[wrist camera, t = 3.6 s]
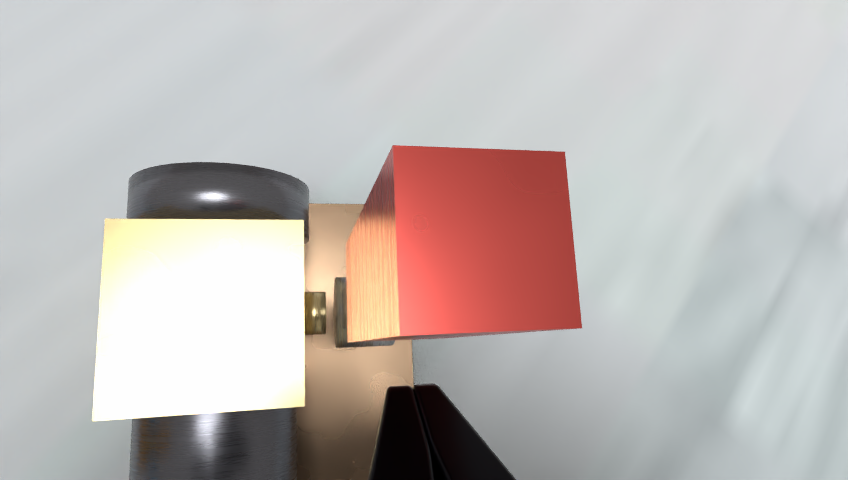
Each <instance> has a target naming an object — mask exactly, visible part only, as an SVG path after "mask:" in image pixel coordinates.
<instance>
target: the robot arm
mask: <svg viewBox="0 0 848 480" xmlns="http://www.w3.org/2000/svg"><path fill="white" fill-rule="evenodd" d="M368 480H516V479H515V478H514V477H513V475H512V474H511V473H510V472H509V471H508V469H507V468H506V467H505V466H504V465H503V463H502V462H501V461H500V460H499V458H498V457H497V456H496V455H495V454H494V452H493V451H492V450H491V449H490V448H489V446H488V445H487V444H486V443H485V442H484V440H483V439H482V438H481V437H480V436H479V434H478V433H477V432H476V431H475V430H474V428H473V427H472V426H471V425H470V424H469V422H468V421H467V420H466V419H465V417H464V416H463V415H462V414H461V413H460V411H459V410H458V409H457V408H456V407H455V405H454V404H453V403H452V402H451V401H450V399H449V398H448V397H447V396H446V395H445V393H444V392H443V391H442V390H441V389H440V387H439V386H437V385H435V384H421V385H414V386H413V387H412V388H411V387H410V386H408V385H405V386H391V387H388V389H387V391H386V395H385V400H384V405H383V410H382V414H381V419H380V424H379V428H378V433H377V438H376V443H375V447H374V452H373V457H372V462H371V466H370V471H369V476H368Z"/></svg>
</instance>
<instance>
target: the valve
mask: <svg viewBox="0 0 848 480" xmlns="http://www.w3.org/2000/svg"><path fill="white" fill-rule="evenodd" d="M364 205H365V204H309V189H308V187H307V185H306V184H305V183H303V182H302V181H300V180H299V179H297V178H295V177H293V176H290V175H287V174H285V173H281V172H278V171H274V170H270V169H265V168H260V167H255V166H248V165H240V164H230V163H213V162H192V163H175V164H166V165H160V166H155V167H150V168H147V169H143V170H141V171H139V172H136V173H135V174H133V175H132V176H131V177H130V179H129V186H128V204H127V219H105V228H104V244H103V259H102V275H101V291H100V306H99V322H98V338H97V353H96V369H95V385H94V400H93V416H92V421H102V420H117V419H131V418H132V433H131V453H130V473H129V480H368V476H369V471H370V466H371V462H372V457H373V452H374V447H375V443H376V438H377V433H378V428H379V424H380V419H381V414H382V410H383V405H384V400H385V395H386V391H387V389H388V387H391V386H405V385H408V386H410V387H411V388H412V387H413V363H412V340H395V343H394V345H392V346H371V347H350V348H336V346H335V338H334V314H333V301H334V281H335V277H346V243H347V241H348V239H349V237H350V234H351V232H352V230H353V228H354V226H355V224H356V222H357V220H358V218H359V216H360V213H361V211H362V209H363V207H364Z"/></svg>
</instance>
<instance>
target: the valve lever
mask: <svg viewBox="0 0 848 480" xmlns="http://www.w3.org/2000/svg"><path fill="white" fill-rule="evenodd" d="M333 314H334V338H335V346H336V348H350V347H371V346H392V345H394V343H395V340H415V339H438V338H454V337H467V336H481V335H495V334H508V333H522V332H536V331H550V330H563V329H577V328H582V324H581V313H580V303H579V293H578V282H577V272H576V262H575V252H574V241H573V231H572V221H571V210H570V200H569V190H568V180H567V169H566V159H565V152H555V151H529V150H502V149H476V148H449V147H423V146H396V145H393V146H392V148H391V150H390V152H389V155H388V157H387V159H386V161H385V163H384V165H383V167H382V169H381V171H380V173H379V176H378V178H377V180H376V182H375V184H374V186H373V188H372V190H371V192H370V194H369V197H368V199H367V201H366V203H365V205H364V207H363V209H362V211H361V213H360V216H359V218H358V220H357V222H356V224H355V226H354V228H353V230H352V232H351V234H350V237H349V239H348V241H347V243H346V277H335V281H334V301H333Z"/></svg>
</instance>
